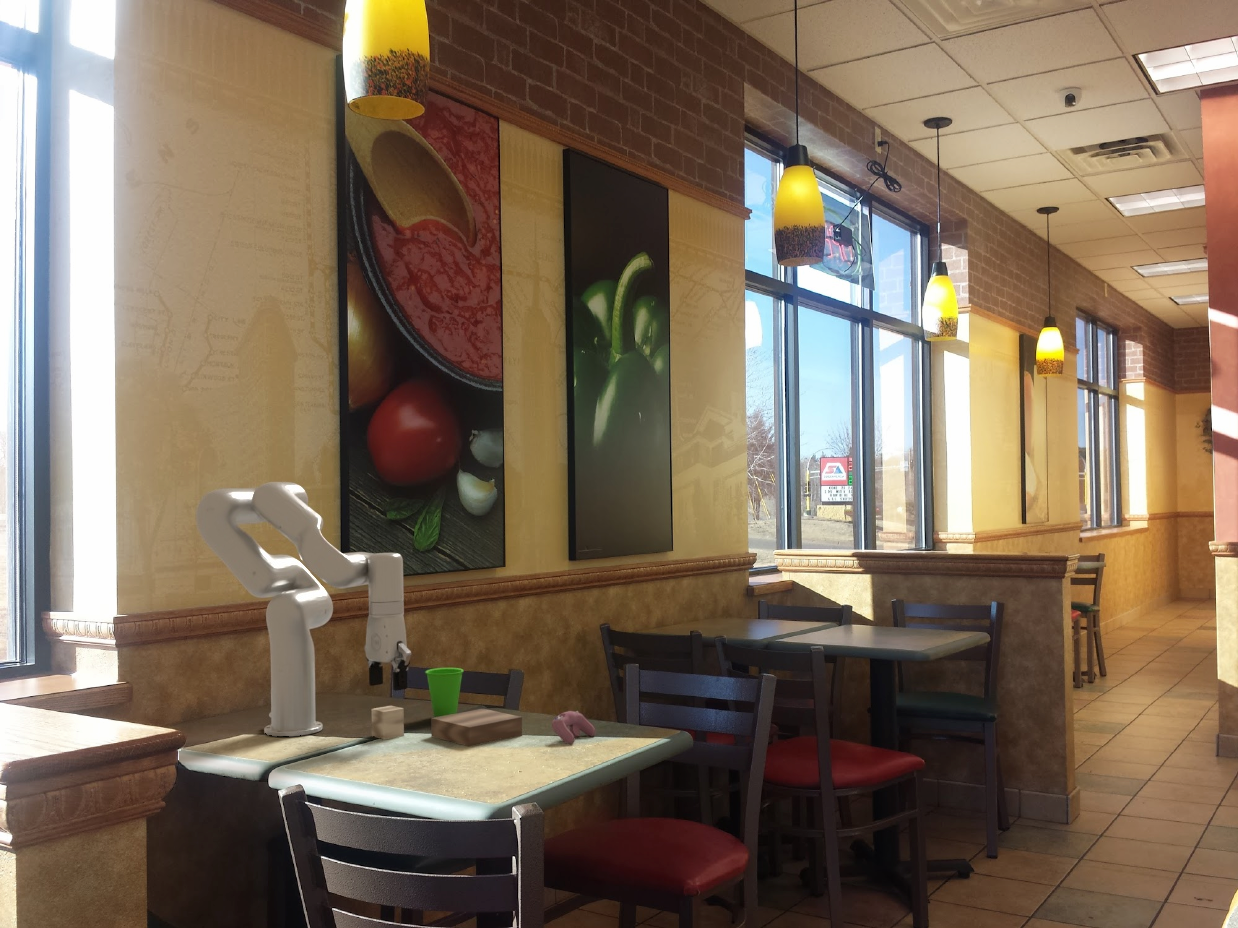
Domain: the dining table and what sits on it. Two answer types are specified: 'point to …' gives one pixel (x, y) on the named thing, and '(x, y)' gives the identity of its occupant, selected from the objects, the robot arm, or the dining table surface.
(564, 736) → the video game controller
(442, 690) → the cup
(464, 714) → the walnut block
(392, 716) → the birch block
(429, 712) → the dining table surface
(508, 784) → the dining table surface
